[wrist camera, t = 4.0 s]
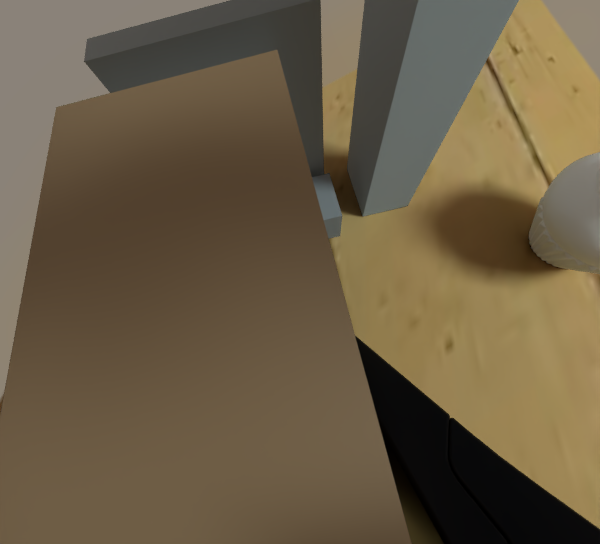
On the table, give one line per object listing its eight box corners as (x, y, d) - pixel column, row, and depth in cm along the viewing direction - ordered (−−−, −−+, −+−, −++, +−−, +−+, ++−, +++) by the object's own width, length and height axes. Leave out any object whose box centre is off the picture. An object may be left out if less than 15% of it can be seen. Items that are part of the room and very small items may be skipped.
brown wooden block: (347, 414, 13) (492, 841, 2) (273, 430, 13) (-92, 924, 2) (314, 272, 16) (277, 49, 4) (252, 286, 16) (56, 106, 4)
